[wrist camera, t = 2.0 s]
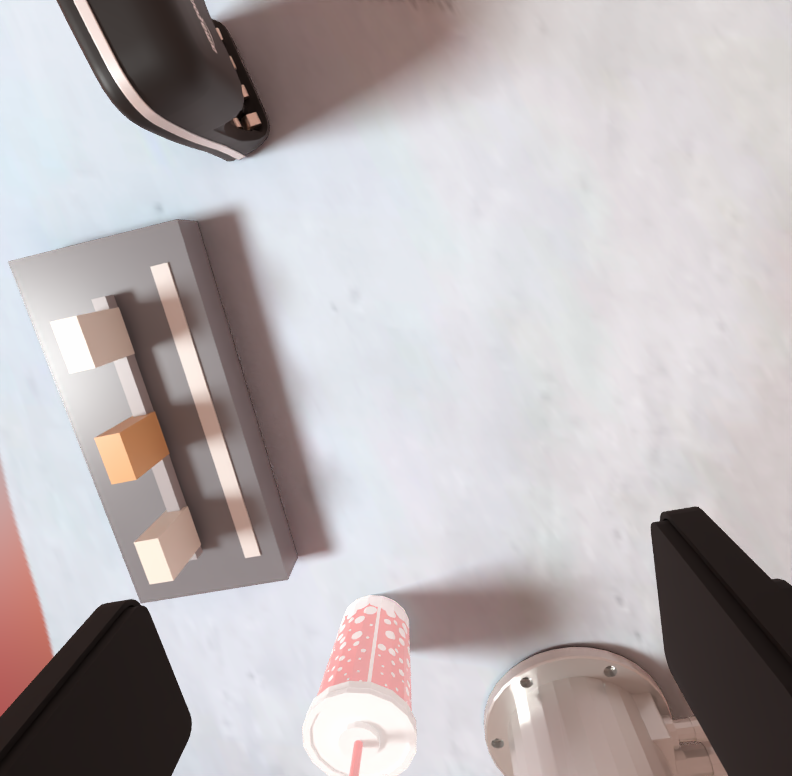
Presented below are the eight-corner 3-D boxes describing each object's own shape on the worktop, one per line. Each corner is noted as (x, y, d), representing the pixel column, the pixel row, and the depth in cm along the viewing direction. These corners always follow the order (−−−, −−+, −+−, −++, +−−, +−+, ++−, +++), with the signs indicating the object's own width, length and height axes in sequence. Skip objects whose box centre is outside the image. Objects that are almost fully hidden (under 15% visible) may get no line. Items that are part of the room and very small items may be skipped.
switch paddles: (118, 293, 29) (70, 301, 25) (207, 551, 33) (177, 591, 29) (95, 299, 29) (44, 307, 25) (186, 554, 33) (153, 595, 29)
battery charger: (292, 138, 29) (207, 74, 18) (231, 169, 30) (114, 124, 19) (233, 4, 28) (102, -154, 17) (170, 39, 28) (4, -92, 17)
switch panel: (197, 221, 31) (176, 219, 28) (297, 557, 36) (287, 580, 33) (40, 260, 32) (6, 261, 29) (159, 580, 37) (140, 604, 35)
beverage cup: (325, 650, 38) (266, 877, 24) (340, 576, 36) (285, 774, 23) (410, 669, 38) (399, 906, 24) (429, 595, 36) (427, 805, 23)
